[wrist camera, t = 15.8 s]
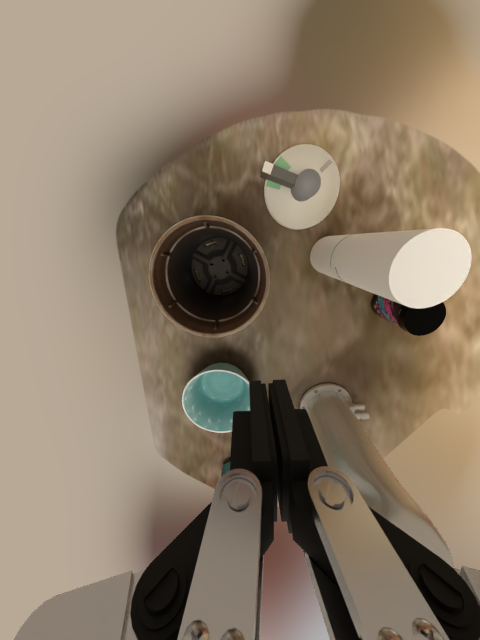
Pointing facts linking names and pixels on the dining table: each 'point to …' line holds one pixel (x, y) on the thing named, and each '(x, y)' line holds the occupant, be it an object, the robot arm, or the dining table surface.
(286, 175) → the friction peg
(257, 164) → the dining table surface
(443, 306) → the supplement container
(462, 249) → the cylindrical container
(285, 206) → the dial plate
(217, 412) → the bowl
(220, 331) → the plant pot
